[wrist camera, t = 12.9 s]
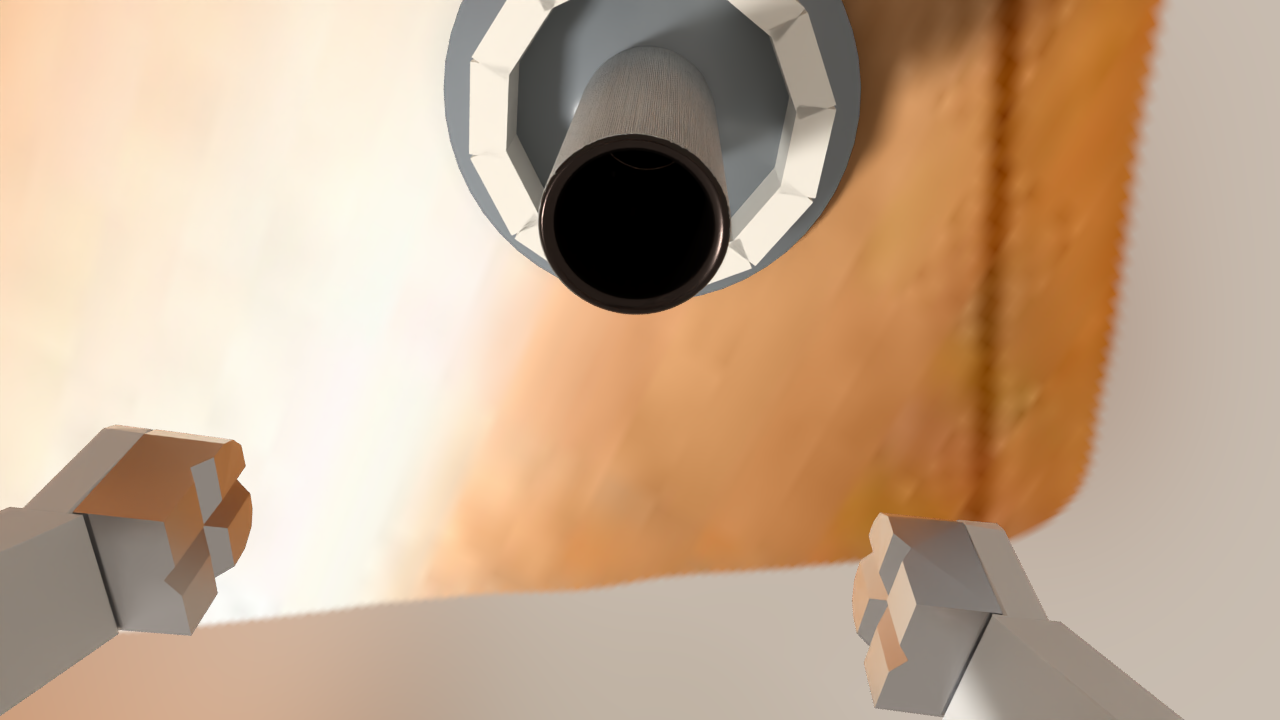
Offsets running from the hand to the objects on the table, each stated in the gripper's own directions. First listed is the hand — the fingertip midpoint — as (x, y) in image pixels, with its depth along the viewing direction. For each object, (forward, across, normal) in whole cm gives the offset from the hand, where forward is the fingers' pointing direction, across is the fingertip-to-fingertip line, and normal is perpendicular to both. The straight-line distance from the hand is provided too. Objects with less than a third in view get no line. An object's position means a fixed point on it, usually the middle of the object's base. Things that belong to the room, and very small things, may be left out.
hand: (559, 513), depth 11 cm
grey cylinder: (+20, -1, 0) cm, 21 cm away
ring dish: (+21, -1, 0) cm, 21 cm away
